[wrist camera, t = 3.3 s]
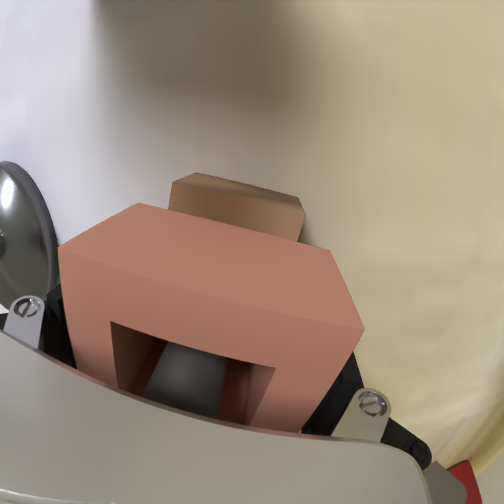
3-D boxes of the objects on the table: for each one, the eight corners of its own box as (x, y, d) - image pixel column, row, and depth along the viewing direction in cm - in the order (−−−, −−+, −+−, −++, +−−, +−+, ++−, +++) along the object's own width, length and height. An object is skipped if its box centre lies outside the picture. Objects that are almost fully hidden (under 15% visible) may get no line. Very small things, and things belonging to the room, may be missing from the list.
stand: (297, 197, 12) (335, 289, 4) (250, 352, 15) (233, 479, 8) (195, 172, 12) (83, 224, 4) (172, 331, 15) (118, 446, 8)
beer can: (474, 457, 24) (490, 506, 13) (446, 477, 26) (458, 524, 15) (458, 460, 23) (475, 515, 12) (428, 480, 26) (440, 532, 15)
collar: (329, 250, 9) (364, 329, 5) (274, 383, 12) (271, 465, 8) (138, 202, 9) (57, 247, 5) (133, 345, 12) (92, 414, 8)
